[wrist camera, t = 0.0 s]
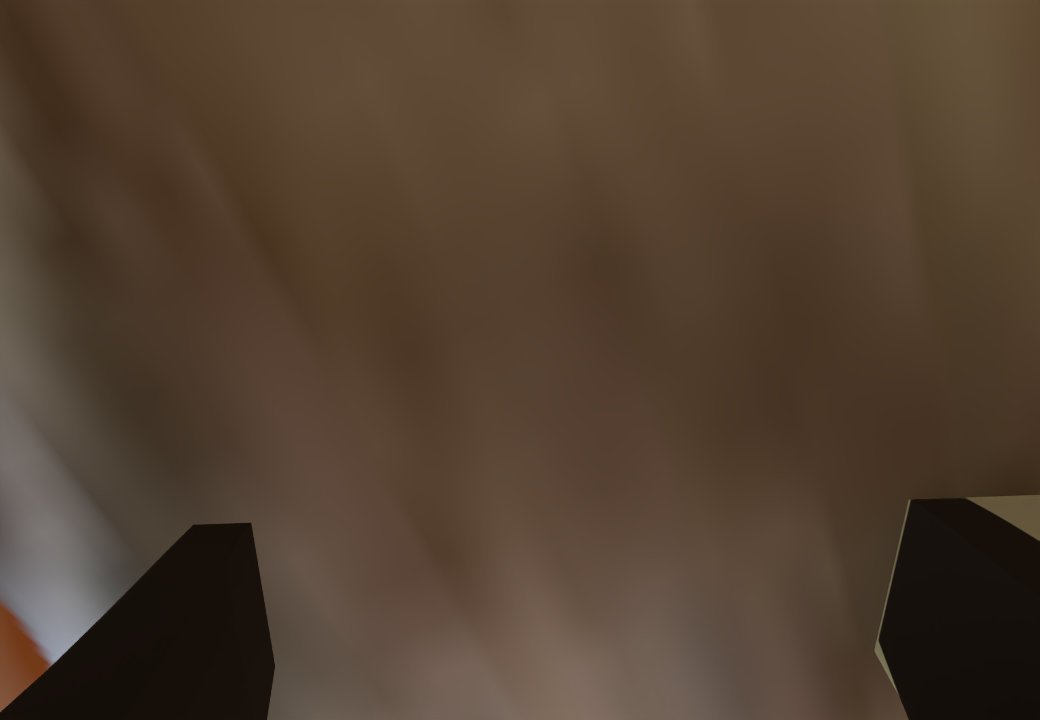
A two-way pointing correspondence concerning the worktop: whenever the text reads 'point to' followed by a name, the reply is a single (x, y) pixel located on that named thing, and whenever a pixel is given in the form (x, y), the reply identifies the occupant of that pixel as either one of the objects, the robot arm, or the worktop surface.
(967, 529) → the robot arm
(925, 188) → the worktop surface
